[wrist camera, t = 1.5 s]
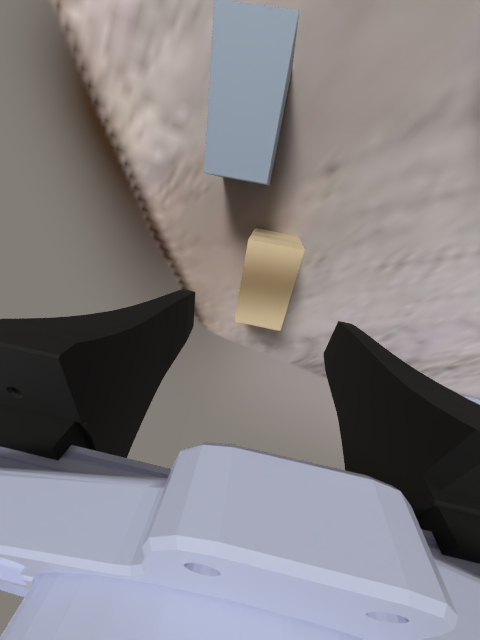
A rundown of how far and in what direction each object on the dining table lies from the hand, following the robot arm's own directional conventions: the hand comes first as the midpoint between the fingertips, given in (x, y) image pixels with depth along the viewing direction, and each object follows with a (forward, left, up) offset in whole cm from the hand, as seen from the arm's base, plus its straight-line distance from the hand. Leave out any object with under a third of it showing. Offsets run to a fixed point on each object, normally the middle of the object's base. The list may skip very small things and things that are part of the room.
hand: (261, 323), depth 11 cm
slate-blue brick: (+9, +3, -10) cm, 13 cm away
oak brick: (0, 0, -10) cm, 10 cm away
